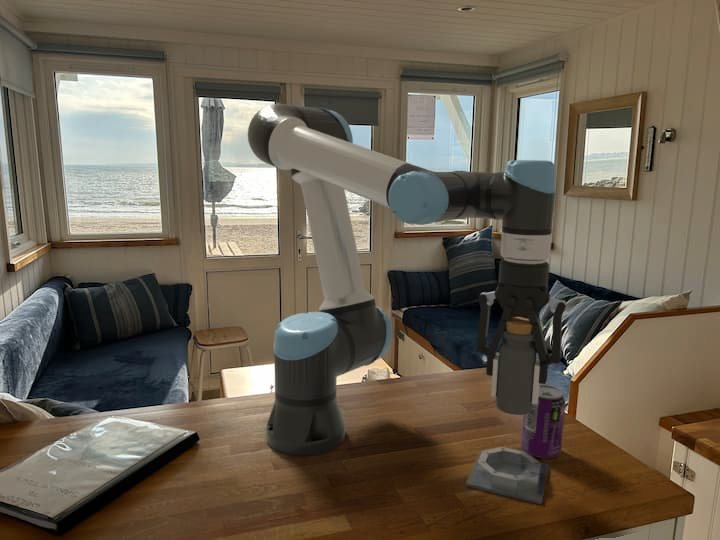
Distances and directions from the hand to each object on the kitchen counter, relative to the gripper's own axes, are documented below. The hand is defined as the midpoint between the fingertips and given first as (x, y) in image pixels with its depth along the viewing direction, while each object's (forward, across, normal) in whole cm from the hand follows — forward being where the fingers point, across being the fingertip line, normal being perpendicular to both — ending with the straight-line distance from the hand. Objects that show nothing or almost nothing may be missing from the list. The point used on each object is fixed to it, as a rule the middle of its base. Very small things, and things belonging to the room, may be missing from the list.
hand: (514, 397), depth 93 cm
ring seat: (+14, 0, 0) cm, 14 cm away
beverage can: (+15, +4, +11) cm, 19 cm away
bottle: (+2, 0, 0) cm, 2 cm away
